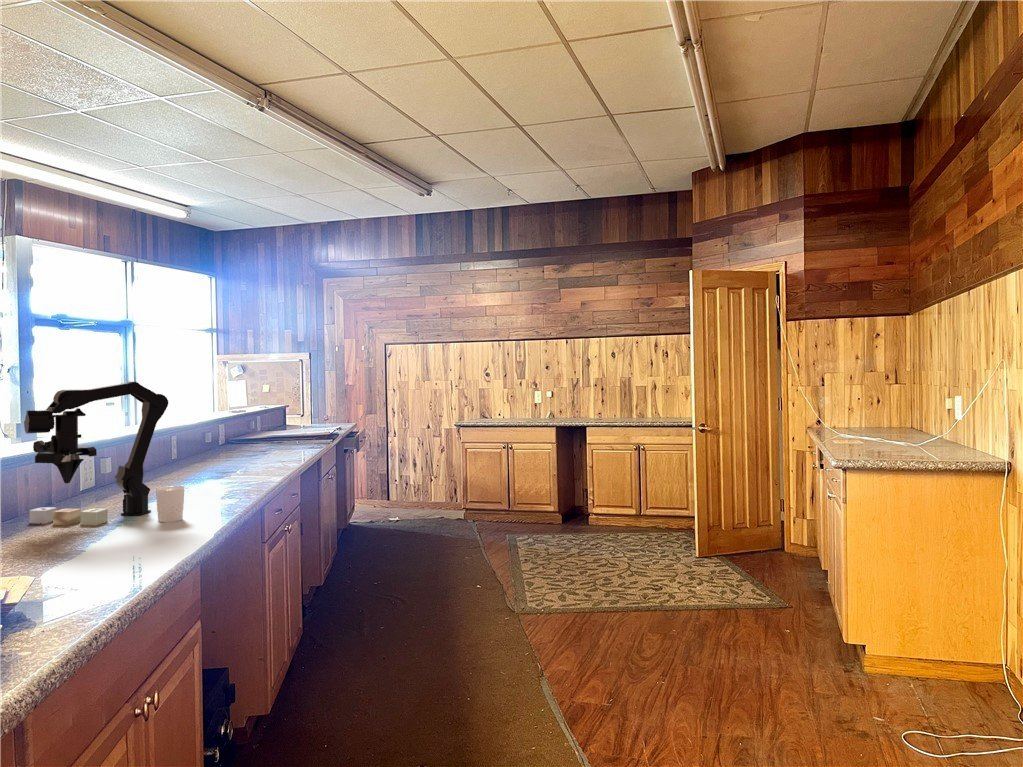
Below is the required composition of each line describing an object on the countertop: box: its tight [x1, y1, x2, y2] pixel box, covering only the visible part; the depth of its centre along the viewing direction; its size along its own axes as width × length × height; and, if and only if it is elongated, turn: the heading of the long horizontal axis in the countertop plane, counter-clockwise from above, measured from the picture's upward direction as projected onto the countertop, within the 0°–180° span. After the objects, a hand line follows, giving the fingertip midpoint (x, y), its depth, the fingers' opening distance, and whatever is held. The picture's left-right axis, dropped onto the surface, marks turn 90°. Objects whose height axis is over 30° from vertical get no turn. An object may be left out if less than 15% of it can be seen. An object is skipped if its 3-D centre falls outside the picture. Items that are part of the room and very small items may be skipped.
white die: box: [29, 506, 58, 525], centre depth 212 cm, size 5×5×4 cm
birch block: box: [52, 508, 82, 526], centre depth 211 cm, size 5×5×4 cm
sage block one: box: [80, 508, 109, 526], centre depth 211 cm, size 5×5×4 cm
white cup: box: [155, 485, 185, 523], centre depth 216 cm, size 8×8×10 cm
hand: (67, 483), depth 210 cm, fingers closed
